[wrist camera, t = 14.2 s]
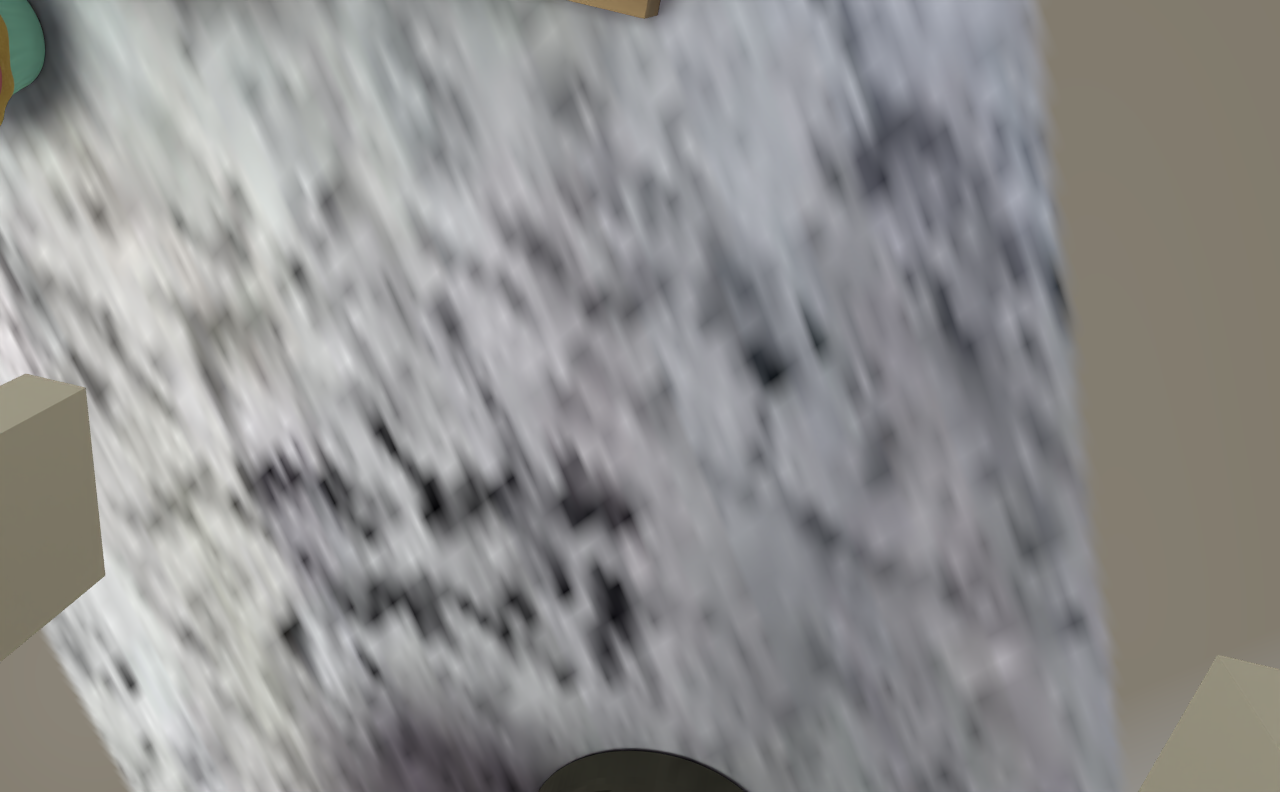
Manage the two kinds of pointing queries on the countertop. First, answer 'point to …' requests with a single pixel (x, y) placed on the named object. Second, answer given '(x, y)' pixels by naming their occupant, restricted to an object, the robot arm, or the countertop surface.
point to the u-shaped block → (626, 6)
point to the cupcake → (18, 48)
